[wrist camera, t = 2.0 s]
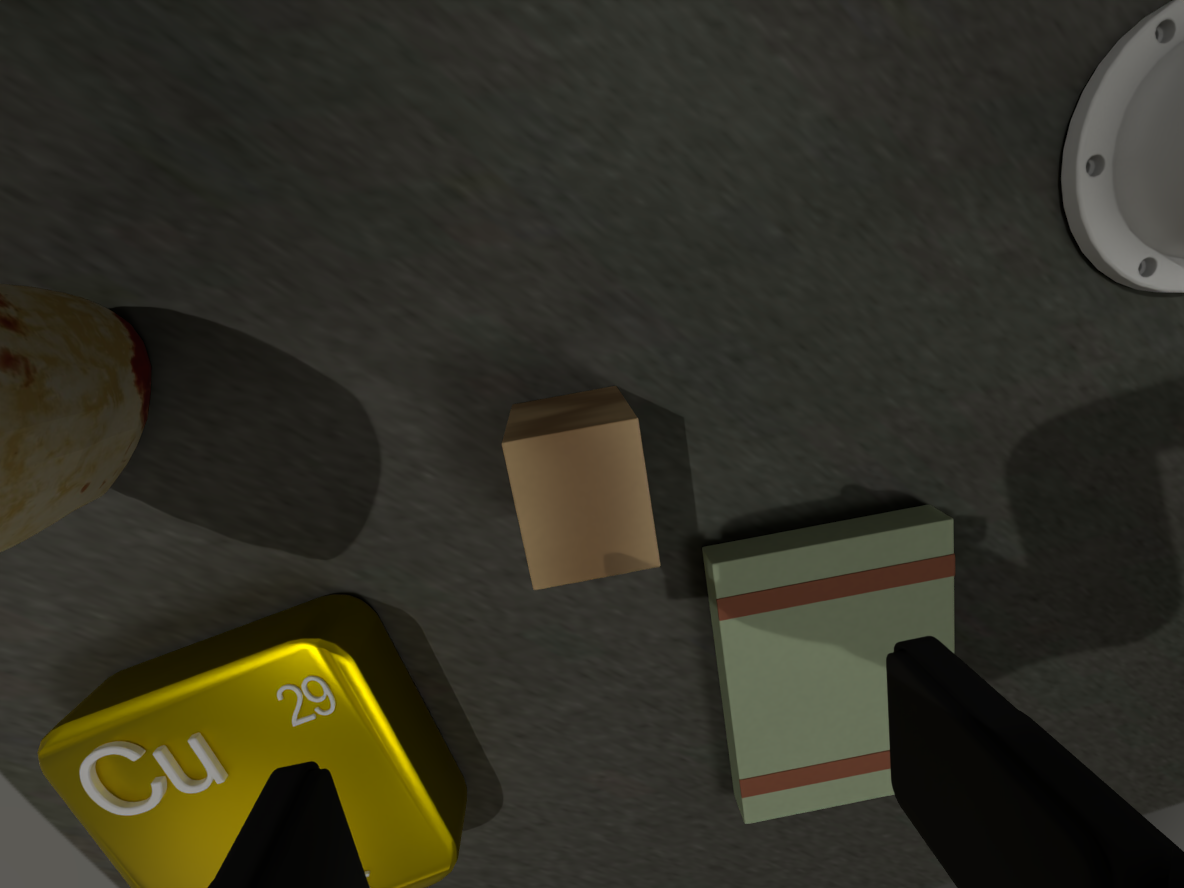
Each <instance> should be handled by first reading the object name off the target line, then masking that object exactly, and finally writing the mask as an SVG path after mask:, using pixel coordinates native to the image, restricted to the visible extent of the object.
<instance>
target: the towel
mask: <svg viewBox="0 0 1184 888" xmlns="http://www.w3.org/2000/svg"><path fill="white" fill-rule="evenodd" d="M702 551H703V559H704V567H705V574H706V582H707V589H708V597H709V605H710V612H711V620H712V628H713V635H714V643H715V651H716V658H717V666H718V674H719V681H720V689H721V697H722V704H723V712H724V720H725V727H726V735H727V743H728V750H729V758H730V766H731V773H732V781H733V789H734V796H735V798H736V801H737V804H738V807H739V809H740V812H741V815H742V818H743V820H744V823H745V824H749V823H754V822H759V821H764V820H769V819H774V818H779V817H784V816H789V815H794V814H799V813H804V812H809V811H814V810H819V809H824V808H829V807H834V806H839V805H844V804H849V803H854V802H859V801H864V800H869V799H874V798H879V797H884V796H888V795H893V794H894V791H893V788H892V783H891V766H890V742H889V719H888V695H887V672H886V657H887V655H888V654H889V653H893V652H894V646H895V644H896V643H898V642H901V641H905V640H910V639H915V638H920V637H925V636H933V637H935V638H936V639H938V640H939V641H940V642H941V643H943V644H944V645H945V646H946V647H947V648H948V649H949V650H950V651H952V652H953V653H954V576H955V554H954V532H953V518H951V517H950V516H948V515H946V514H944V513H943V512H941V511H939V510H938V509H936V508H934V507H933V506H931V505H923V506H918V507H912V508H907V509H902V510H897V511H891V512H886V513H881V514H875V515H870V516H865V517H859V518H854V519H849V520H843V521H838V522H833V523H828V524H822V525H817V526H812V527H806V528H801V529H796V530H790V531H785V532H780V533H774V534H769V535H764V536H759V537H753V538H748V539H743V540H737V541H732V542H727V543H721V544H716V545H711V546H705V547H702ZM954 654H955V653H954Z"/></svg>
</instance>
